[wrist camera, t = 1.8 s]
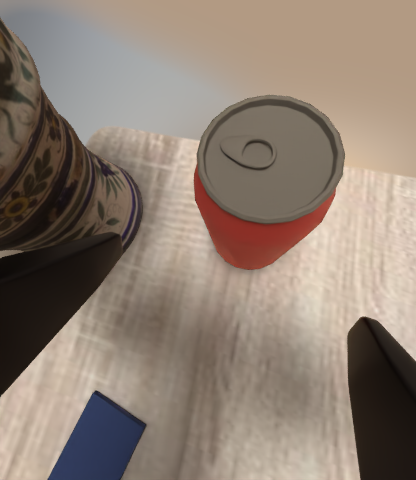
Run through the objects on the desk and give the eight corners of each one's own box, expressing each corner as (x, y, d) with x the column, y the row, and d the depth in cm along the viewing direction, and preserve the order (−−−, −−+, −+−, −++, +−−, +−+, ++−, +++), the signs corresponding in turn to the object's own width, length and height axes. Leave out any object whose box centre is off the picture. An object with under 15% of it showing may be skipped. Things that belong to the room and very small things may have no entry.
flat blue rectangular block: (100, 520, 16) (96, 527, 16) (50, 478, 17) (45, 484, 17) (146, 424, 17) (143, 428, 17) (96, 390, 18) (92, 392, 18)
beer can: (227, 191, 21) (219, 68, 10) (296, 213, 20) (381, 102, 8) (201, 254, 20) (156, 201, 9) (272, 282, 19) (332, 264, 7)
